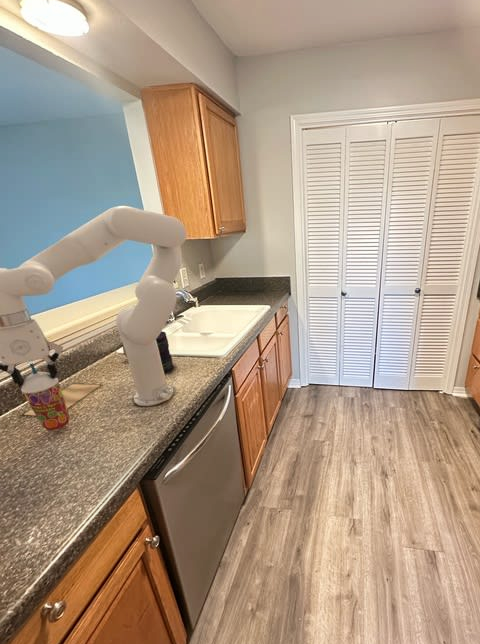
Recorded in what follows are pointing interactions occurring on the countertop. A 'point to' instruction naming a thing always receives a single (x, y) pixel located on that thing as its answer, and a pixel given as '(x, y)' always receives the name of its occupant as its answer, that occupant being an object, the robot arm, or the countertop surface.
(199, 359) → the countertop surface
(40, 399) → the smoothie
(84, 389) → the board
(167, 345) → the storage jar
